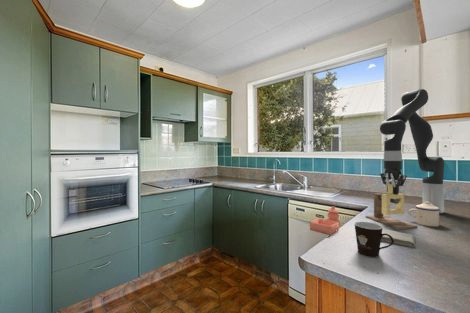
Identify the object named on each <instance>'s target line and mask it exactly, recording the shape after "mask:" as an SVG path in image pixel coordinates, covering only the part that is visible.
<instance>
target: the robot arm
mask: <svg viewBox="0 0 470 313" xmlns="http://www.w3.org/2000/svg"><path fill="white" fill-rule="evenodd" d="M400 100H401V105H402V106H401V107H399V108H398V109H397V110H396V111H395V112H394V113H393V114H392V116H390V117H387V118H386V119H385V120H383V122H382V123H381V124H380V126H379V132H380V133H381V134H382V135H384V136H391V135H393V137H392V138H389V139H385V140H384V141H383V143H384V145H383V147H384V148H383V151H384V153H383V169H384V172H382V173H381V172H380V174H379V175H380V178H381V181H382V184H383V185H385V186H386V194H388V184H393V186H394V187H393V194H394V195H398V194H399V193H400V187H403V186H404V185H405V182H406V181H407V180H406V179H407V175H406V174H405V175H404V174H403V173H402V169H403V154H402V141H403V138H404V134H405V132H406V127H407V125H406V123H407V122H408V124H409V129H410V132H411V133H410V134H411V136H412V139H413V142H414V147H415V151H416V156H417V161H418V167H419V169H420V171H422V172H427V173H433V174H432V175H430V176H427V177H423V178H422V204H423V203H425V202H430V204H432V205H434V206H435V207H438V208H439V209H440V210H439V214H443V213H445V196H444V176H445V174H444V173H445V160H444V158H443V156H427V149H428V147H429V145H430V144H431V143H432V142H433V138H434V134H433V129H432V126H431V124H430V123H429V122H428V121H427V120H426V119H424V118H422V117H421V115H419V114H418V113H417V112H418V111H419V110H420V109H421V108H423V106H425V105H427V103H428V101H429V93H428V91H427V90H426V89H424V88H420V89H416V90H411V91H408V92H404V93H402V94H401V98H400Z"/></svg>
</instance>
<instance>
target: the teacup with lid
mask: <svg viewBox="0 0 470 313" xmlns="http://www.w3.org/2000/svg"><path fill="white" fill-rule="evenodd" d="M439 210H440V209H439V208H438V207H435V206H434V205H432V204H430V202H425V203H423V202H422V203H421V204H417V205H415V208H410V209H409V210H408V216H409V217H411V218H412V219H415V220H416V221H415V222H416V223H417V224H418V225H423V226H426V227H439V226H440V213H439ZM411 211H415V216H413V215H411Z"/></svg>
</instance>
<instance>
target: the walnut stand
mask: <svg viewBox="0 0 470 313" xmlns="http://www.w3.org/2000/svg"><path fill="white" fill-rule="evenodd" d="M382 194H383V193H376V192H375V193H373V215H372V214H371V215H365V218H367V219H370V220H373V221H374V222H377V223H380V224H382V225H384V226H388V227H390V228H393V229H395V230H405V229H406V230H408V229H418V225H416V224H413V223H409V222H406V221H404V220H400V219H398V218H394V217H392V216H389V215H385V214H382ZM391 203H393V204H398V203H399V201H398V200H396V199H390V204H391Z"/></svg>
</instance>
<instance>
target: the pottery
mask: <svg viewBox="0 0 470 313" xmlns="http://www.w3.org/2000/svg"><path fill="white" fill-rule="evenodd" d="M327 211H328V213H327V217H328V218H327V219H323V218H316V219H314V220H312V221H309V230H310V231H312V232H315V233H319V234H322V235H323V234H324V235H328V236H332V235H333V234H335V233H336V232H335V231H336V230H338V231H339V230H340V229H339V228H340V227H341V221H340V219H339V217H340V215H339V209H337V208H336V206H332V205H331V208H328V210H327ZM334 232H335V233H334ZM332 233H333V234H332ZM331 234H332V235H331Z"/></svg>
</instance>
